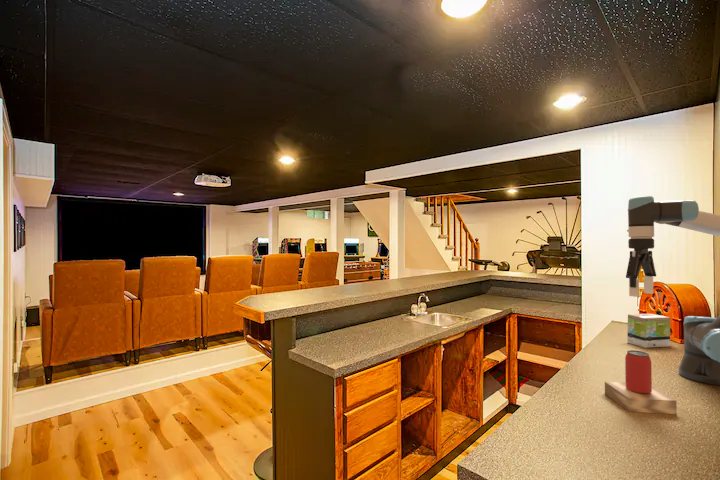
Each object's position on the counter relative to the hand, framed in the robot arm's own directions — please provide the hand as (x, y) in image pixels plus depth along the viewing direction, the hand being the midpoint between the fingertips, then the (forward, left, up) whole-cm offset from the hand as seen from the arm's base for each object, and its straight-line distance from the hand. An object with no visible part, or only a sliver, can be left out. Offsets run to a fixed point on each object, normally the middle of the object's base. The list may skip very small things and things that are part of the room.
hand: (641, 294), depth 131 cm
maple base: (+14, +21, -32) cm, 40 cm away
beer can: (+14, +21, -28) cm, 37 cm away
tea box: (-34, -50, -32) cm, 68 cm away
